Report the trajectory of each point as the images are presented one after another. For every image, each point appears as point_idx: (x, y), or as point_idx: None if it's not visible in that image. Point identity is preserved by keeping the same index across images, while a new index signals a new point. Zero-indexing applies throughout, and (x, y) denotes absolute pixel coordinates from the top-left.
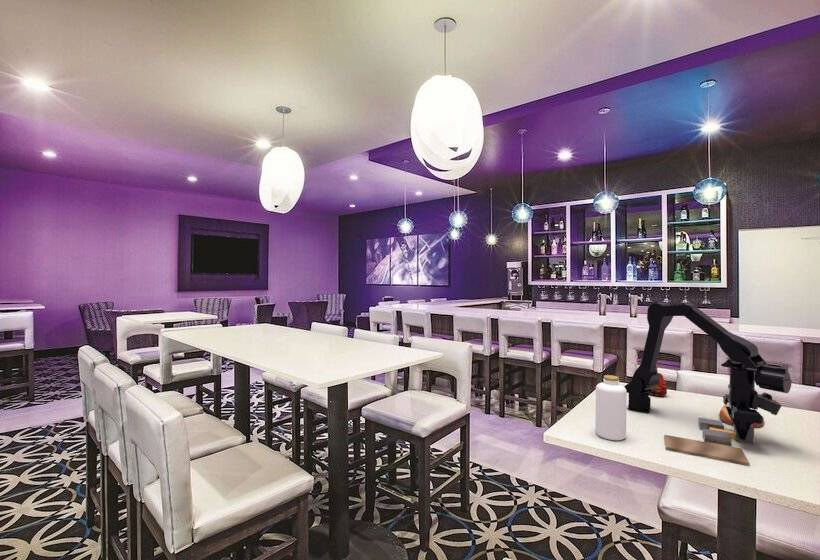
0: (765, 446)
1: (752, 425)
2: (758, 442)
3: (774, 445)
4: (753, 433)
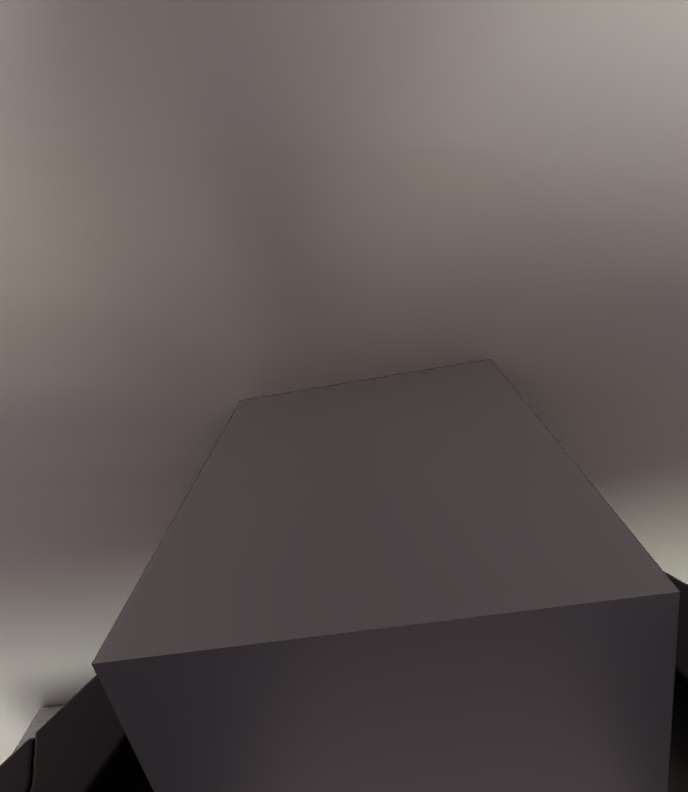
0: (452, 181)
1: (402, 631)
2: (291, 291)
3: (248, 11)
4: (576, 470)
